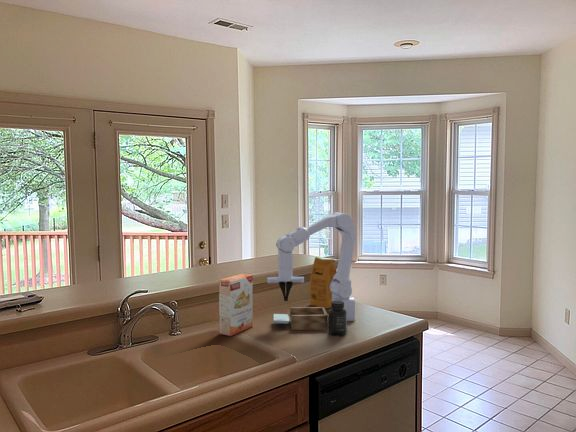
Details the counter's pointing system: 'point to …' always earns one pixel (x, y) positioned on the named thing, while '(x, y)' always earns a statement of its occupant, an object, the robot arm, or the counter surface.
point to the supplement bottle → (337, 319)
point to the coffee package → (321, 282)
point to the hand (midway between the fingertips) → (285, 300)
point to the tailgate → (281, 318)
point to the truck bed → (308, 318)
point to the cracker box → (235, 304)
